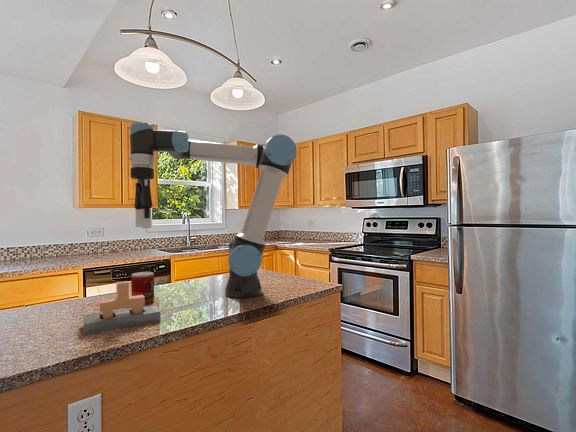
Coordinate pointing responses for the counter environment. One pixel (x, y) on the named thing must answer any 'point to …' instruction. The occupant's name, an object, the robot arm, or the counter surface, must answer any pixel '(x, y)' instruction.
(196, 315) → the counter surface
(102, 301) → the clip
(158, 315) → the grey slotted base
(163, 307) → the counter surface
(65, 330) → the counter surface
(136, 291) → the canned food
